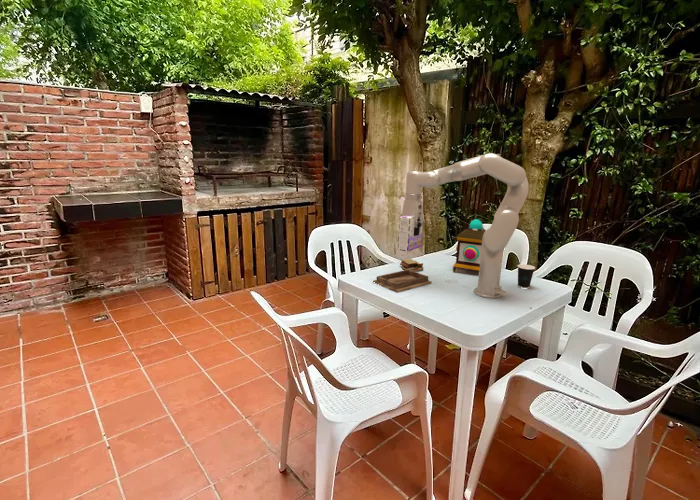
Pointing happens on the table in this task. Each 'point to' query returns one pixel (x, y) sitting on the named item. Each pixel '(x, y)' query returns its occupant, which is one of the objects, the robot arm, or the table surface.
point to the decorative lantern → (469, 247)
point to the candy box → (408, 234)
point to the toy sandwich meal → (411, 265)
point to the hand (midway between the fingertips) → (410, 233)
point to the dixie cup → (525, 275)
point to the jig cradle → (402, 280)
